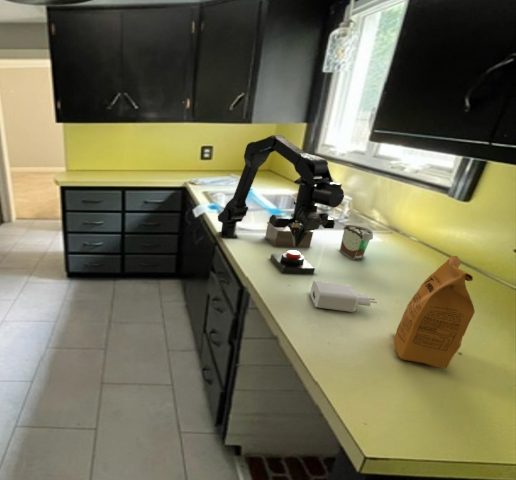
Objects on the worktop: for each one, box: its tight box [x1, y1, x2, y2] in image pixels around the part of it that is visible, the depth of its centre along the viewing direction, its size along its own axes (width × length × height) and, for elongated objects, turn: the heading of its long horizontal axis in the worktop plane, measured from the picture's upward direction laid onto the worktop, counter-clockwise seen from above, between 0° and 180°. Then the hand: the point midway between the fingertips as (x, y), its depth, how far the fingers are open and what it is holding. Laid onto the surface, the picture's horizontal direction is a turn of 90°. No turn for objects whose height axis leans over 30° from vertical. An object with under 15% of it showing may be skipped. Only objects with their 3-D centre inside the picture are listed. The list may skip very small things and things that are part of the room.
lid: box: [266, 221, 314, 234], centre depth 144 cm, size 12×13×1 cm
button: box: [286, 249, 302, 259], centre depth 122 cm, size 4×4×2 cm
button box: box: [269, 251, 316, 275], centre depth 124 cm, size 12×10×4 cm
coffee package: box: [393, 255, 475, 369], centre depth 77 cm, size 10×12×22 cm
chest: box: [264, 224, 314, 248], centre depth 145 cm, size 11×13×6 cm
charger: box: [309, 280, 378, 313], centre depth 100 cm, size 5×9×15 cm
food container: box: [339, 224, 374, 261], centre depth 132 cm, size 12×6×10 cm, turn 179°
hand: (295, 246), depth 121 cm, fingers closed
